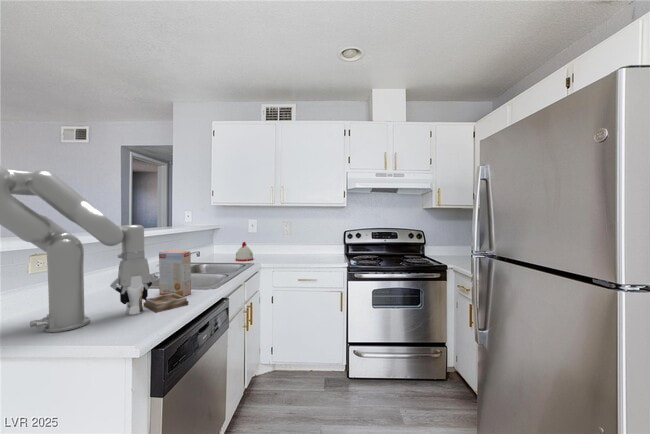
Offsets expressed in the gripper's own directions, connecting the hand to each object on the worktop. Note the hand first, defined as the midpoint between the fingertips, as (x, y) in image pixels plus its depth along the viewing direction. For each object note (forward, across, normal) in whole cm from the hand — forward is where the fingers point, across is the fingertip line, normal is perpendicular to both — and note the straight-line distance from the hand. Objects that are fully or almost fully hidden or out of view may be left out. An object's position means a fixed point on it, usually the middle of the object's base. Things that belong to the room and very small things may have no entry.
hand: (134, 300), depth 120 cm
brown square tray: (+5, +12, 0) cm, 13 cm away
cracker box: (+5, +22, +15) cm, 27 cm away
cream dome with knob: (+5, +104, +76) cm, 129 cm away
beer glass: (+5, 0, 0) cm, 5 cm away
